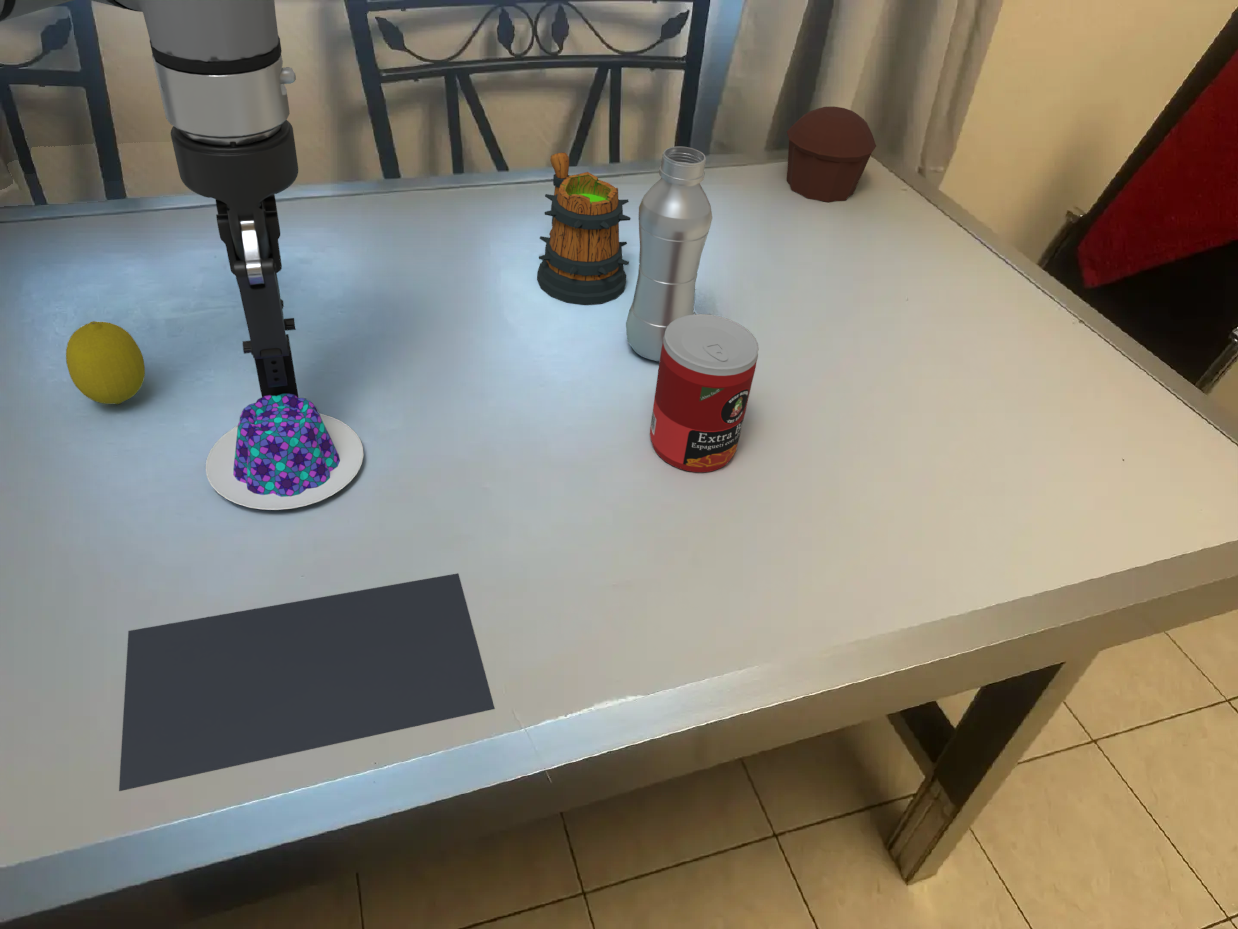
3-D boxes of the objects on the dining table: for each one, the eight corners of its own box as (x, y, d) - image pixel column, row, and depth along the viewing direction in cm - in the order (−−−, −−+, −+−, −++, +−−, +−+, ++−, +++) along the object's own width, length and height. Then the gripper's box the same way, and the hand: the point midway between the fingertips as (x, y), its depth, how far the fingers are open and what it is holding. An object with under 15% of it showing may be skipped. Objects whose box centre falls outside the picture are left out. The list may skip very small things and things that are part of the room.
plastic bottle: (680, 377, 91) (713, 178, 78) (613, 358, 92) (635, 160, 79) (698, 342, 96) (732, 150, 82) (634, 325, 97) (658, 133, 84)
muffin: (817, 162, 132) (834, 89, 126) (880, 193, 127) (901, 119, 120) (758, 180, 126) (773, 104, 120) (822, 214, 120) (841, 137, 114)
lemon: (78, 426, 78) (49, 345, 72) (86, 386, 82) (59, 306, 76) (152, 419, 79) (128, 339, 74) (156, 380, 83) (134, 301, 78)
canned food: (691, 487, 79) (711, 380, 72) (629, 435, 83) (643, 329, 76) (755, 454, 83) (780, 349, 76) (693, 406, 88) (711, 303, 80)
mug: (645, 296, 101) (658, 194, 94) (558, 313, 97) (564, 208, 90) (591, 239, 110) (599, 142, 102) (509, 253, 105) (510, 152, 98)
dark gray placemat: (119, 791, 55) (118, 791, 55) (128, 631, 63) (128, 630, 63) (494, 709, 61) (494, 708, 61) (458, 574, 70) (458, 573, 70)
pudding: (359, 514, 73) (353, 463, 70) (194, 519, 71) (179, 467, 68) (367, 416, 82) (362, 366, 79) (220, 419, 80) (209, 368, 77)
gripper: (299, 161, 58) (338, 452, 74) (284, 82, 67) (322, 356, 83) (166, 168, 56) (236, 466, 72) (169, 85, 65) (230, 366, 81)
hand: (282, 407), depth 77 cm, fingers closed
